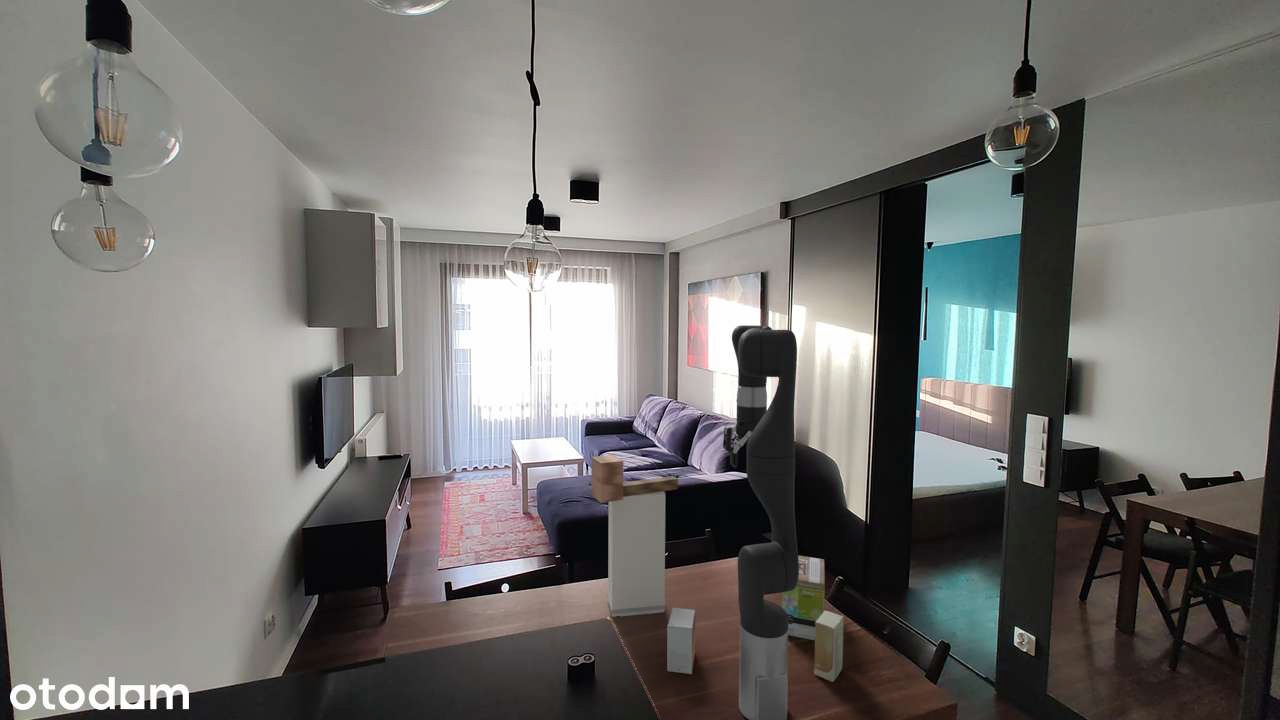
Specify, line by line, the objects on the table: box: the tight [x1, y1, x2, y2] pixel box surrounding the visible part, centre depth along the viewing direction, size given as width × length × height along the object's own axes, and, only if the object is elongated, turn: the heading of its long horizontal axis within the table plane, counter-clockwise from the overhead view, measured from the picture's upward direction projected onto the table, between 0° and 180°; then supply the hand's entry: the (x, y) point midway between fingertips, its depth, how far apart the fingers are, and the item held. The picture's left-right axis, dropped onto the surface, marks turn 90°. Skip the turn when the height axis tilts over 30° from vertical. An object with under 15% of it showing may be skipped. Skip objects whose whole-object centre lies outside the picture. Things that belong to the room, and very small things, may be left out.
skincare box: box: [813, 609, 845, 683], centre depth 116 cm, size 6×4×12 cm
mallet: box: [590, 454, 679, 504], centre depth 138 cm, size 23×7×10 cm, turn 115°
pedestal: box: [607, 491, 666, 618], centre depth 141 cm, size 14×8×32 cm, turn 101°
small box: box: [666, 607, 696, 675], centre depth 119 cm, size 8×6×10 cm
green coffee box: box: [781, 555, 826, 641], centre depth 135 cm, size 15×10×15 cm, turn 161°
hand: (750, 466), depth 135 cm, fingers open, 8 cm apart
